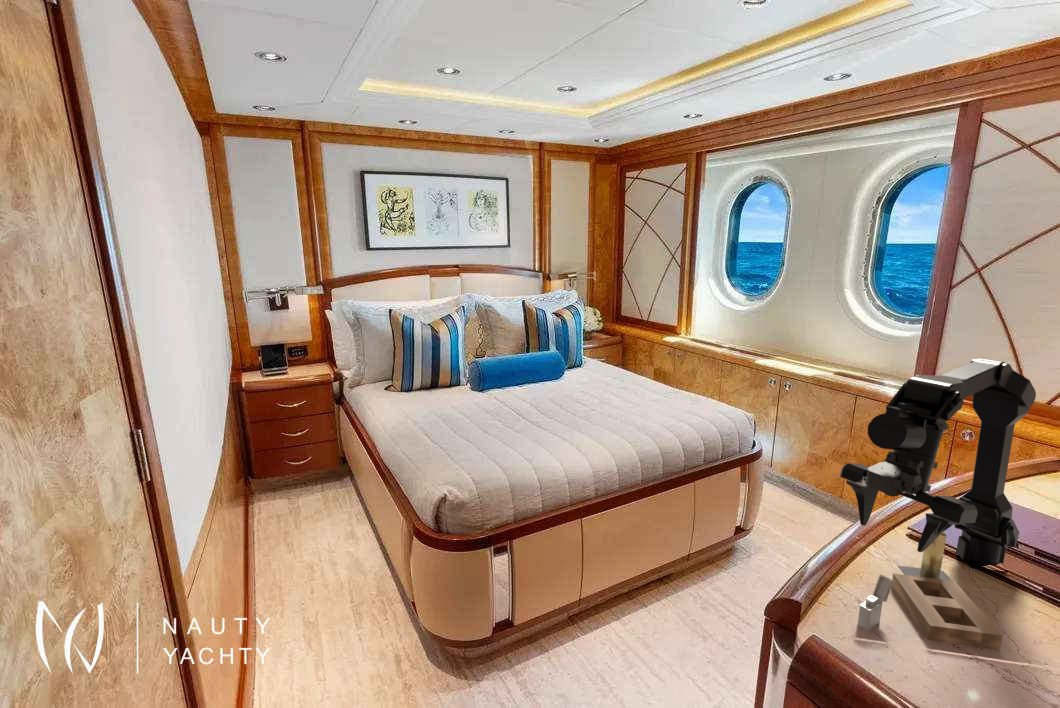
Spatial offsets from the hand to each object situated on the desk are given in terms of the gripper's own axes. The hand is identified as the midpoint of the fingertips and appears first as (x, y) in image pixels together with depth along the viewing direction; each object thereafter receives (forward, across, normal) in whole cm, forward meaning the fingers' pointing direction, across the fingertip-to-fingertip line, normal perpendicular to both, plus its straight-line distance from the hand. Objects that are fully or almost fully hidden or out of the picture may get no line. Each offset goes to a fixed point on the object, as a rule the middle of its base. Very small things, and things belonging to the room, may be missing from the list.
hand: (890, 537), depth 87 cm
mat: (+10, -2, +22) cm, 24 cm away
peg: (+10, -2, +22) cm, 24 cm away
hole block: (+13, +5, +13) cm, 19 cm away
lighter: (+16, 0, +1) cm, 16 cm away
